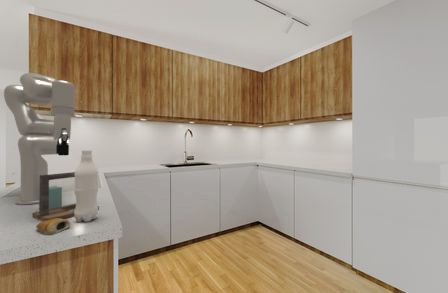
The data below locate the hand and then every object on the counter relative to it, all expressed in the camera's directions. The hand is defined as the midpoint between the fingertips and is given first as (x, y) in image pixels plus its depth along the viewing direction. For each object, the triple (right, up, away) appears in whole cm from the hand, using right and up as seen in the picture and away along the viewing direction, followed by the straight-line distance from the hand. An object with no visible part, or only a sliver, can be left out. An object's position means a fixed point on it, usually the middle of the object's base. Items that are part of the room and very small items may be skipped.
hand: (62, 154), depth 84 cm
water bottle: (+16, -23, -9) cm, 30 cm away
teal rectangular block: (-7, -23, +3) cm, 24 cm away
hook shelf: (+4, -23, -2) cm, 24 cm away
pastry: (+11, -24, -18) cm, 32 cm away
